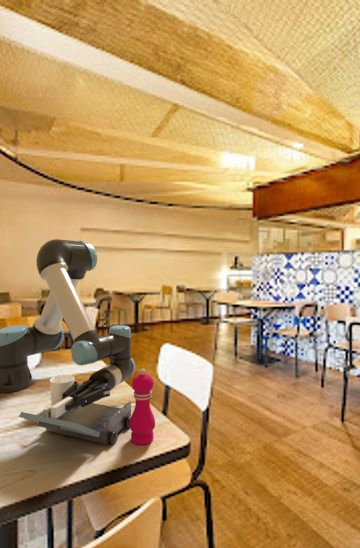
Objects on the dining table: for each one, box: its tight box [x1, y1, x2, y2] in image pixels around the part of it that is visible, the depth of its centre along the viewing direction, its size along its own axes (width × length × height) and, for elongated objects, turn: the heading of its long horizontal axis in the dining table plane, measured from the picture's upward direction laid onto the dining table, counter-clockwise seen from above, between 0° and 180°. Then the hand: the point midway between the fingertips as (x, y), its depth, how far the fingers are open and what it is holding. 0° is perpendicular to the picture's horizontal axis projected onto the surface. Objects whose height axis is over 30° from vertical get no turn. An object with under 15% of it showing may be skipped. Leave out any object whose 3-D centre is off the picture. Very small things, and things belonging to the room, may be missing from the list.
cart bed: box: [45, 401, 132, 445], centre depth 93 cm, size 22×14×6 cm, turn 71°
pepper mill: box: [129, 368, 156, 446], centre depth 87 cm, size 7×7×20 cm
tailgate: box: [18, 411, 100, 437], centre depth 80 cm, size 17×2×12 cm
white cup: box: [49, 374, 75, 408], centre depth 106 cm, size 8×8×10 cm
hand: (53, 412), depth 77 cm, fingers closed
